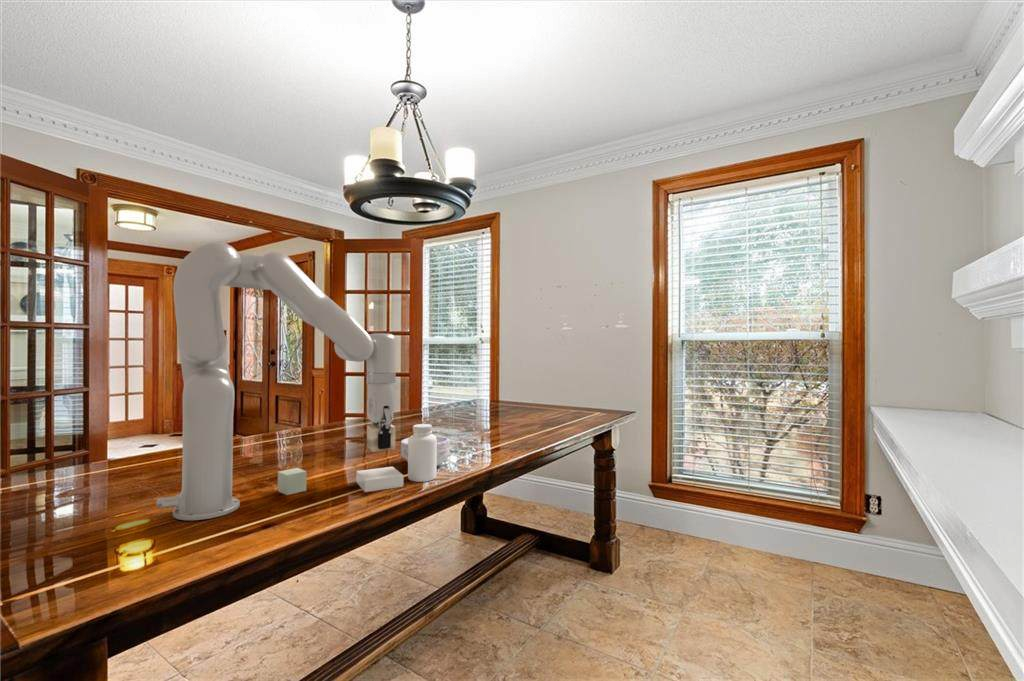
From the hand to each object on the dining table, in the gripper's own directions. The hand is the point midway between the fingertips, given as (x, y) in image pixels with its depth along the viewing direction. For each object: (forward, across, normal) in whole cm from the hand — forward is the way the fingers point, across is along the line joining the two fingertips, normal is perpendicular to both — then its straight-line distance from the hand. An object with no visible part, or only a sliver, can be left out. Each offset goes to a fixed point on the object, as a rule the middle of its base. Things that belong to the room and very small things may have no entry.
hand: (380, 445), depth 128 cm
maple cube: (+1, 0, 0) cm, 1 cm away
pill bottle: (+11, 0, +12) cm, 16 cm away
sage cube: (+10, -5, -21) cm, 24 cm away
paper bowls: (+11, -14, +18) cm, 25 cm away
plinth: (+10, 0, 0) cm, 10 cm away
